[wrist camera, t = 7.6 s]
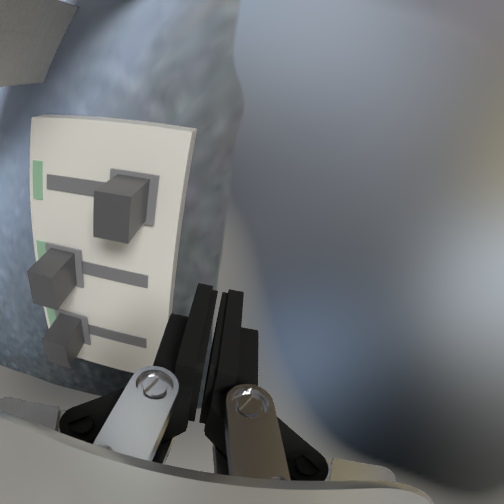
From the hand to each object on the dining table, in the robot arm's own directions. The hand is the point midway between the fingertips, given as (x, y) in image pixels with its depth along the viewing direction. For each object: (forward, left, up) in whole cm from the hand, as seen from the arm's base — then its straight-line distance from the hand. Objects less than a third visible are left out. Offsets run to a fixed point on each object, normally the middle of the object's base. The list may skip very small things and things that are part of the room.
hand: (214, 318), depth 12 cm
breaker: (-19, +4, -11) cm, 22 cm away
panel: (-11, +5, -14) cm, 18 cm away
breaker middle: (-13, +8, -11) cm, 19 cm away
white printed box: (+1, +21, -14) cm, 25 cm away
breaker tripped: (-4, +6, -11) cm, 13 cm away
